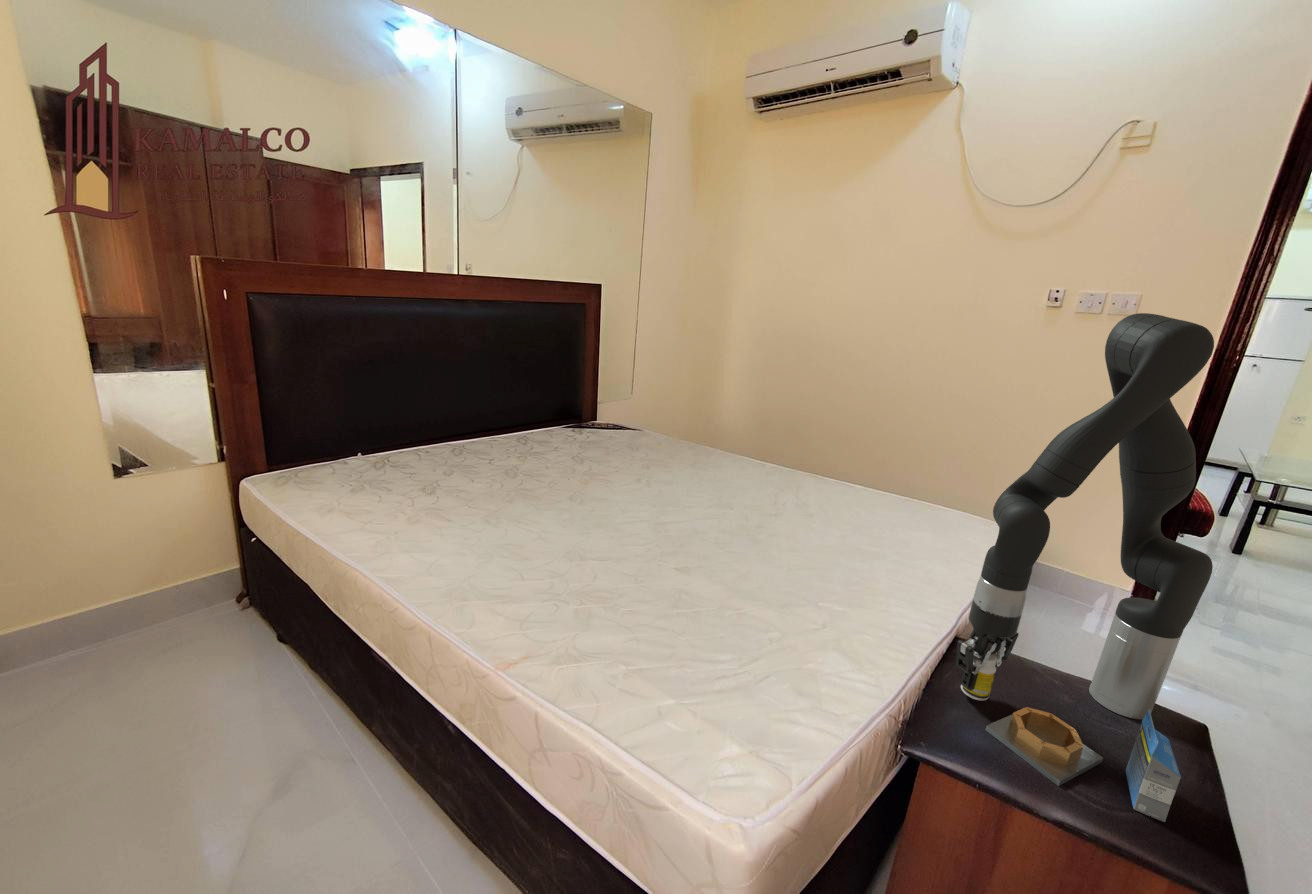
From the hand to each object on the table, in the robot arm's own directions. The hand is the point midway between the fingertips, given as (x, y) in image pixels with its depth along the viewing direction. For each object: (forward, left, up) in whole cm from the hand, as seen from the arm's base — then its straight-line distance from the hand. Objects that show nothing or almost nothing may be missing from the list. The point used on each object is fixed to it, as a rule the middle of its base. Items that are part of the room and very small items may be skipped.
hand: (976, 683), depth 102 cm
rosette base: (-1, +12, -3) cm, 13 cm away
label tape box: (-6, +24, -3) cm, 25 cm away
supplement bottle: (0, 0, -2) cm, 2 cm away
